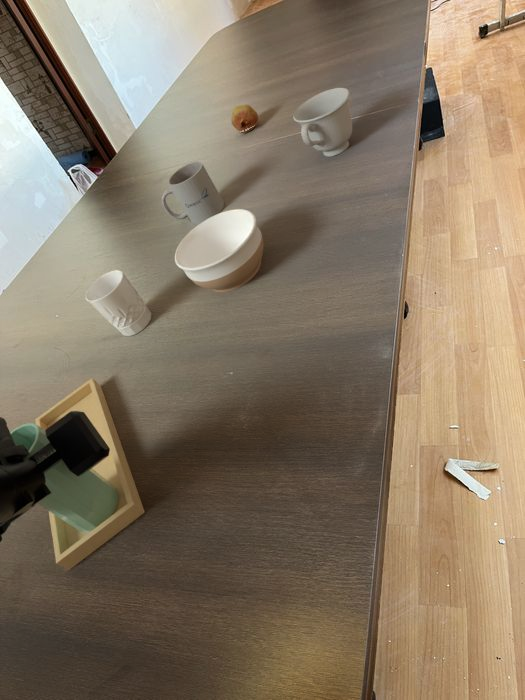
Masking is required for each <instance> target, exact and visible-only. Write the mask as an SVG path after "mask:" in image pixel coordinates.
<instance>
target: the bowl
mask: <svg viewBox="0 0 525 700" xmlns="http://www.w3.org/2000/svg"><path fill="white" fill-rule="evenodd" d="M264 243H265V242H264V238H263V235H262V232H261V230H260V228H259V226H258V224H257V218H256V215H255V214H254V213H253V212H251V211H250V210H248V209H243V208H235V209H230V210H225V211H221V212H219V213H218V214H217V215H214V216H212V217H210V218H208V219H207V220H205V221H203V222H202V223H200V224H197V225H196V226H195V227H193V228H192V229H191V230H190V231H188V233H187V234H186V235H185V236H184V237H183V238H182V240H181V241H180V242H179V244H178V246H177V248H176V250H175V253H174V262H175V265H176V266H177V267H178V268H179V269H181V270H183V271H184V273H185V276H187V278H188V279H190V280H191V281H192V282H193V284H195V285H197V286H199V287H201V288H203V289H208V290H212V291H214V292H216V293H227V292H231V291H234V290H236V289H239V288H240V287H243V286H244V285H246V284H247V283H248V282H249V281H251V280H252V279H253V278H254V277H255V276H256V274H258V271H260V268H261V265H262V257H263V254H264Z"/></svg>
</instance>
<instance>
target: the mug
mask: <svg viewBox="0 0 525 700" xmlns="http://www.w3.org/2000/svg"><path fill="white" fill-rule="evenodd" d="M167 185H168V187H169V188H167V189H166V190H165V191H163V193H162V195H161V204H162V206H163V209H164V210H165V211H166V213H167V214H168V215H169V216H170V217H171V218H173V219H176V220H184V219H186V218H187V217H188V218H189V221H190V222H191V223H192V224H194V225H199V224H200V223H202V222H203V221H205V220H207V219H208V218H210V217H212V216H214V215H217V214H219V213H221V212H222V210H223V208H224V206H225V201H224V200H223V198H222V196H221V195H220V192H219V191H218V189H217V187H216V185H215V183H214V182H213V180H212V178H211V176H210V174H209V173H208V171H207V169H206V168H205V166H204V164H203V162H202V161H199V160H196V161H191V162H189V163H187V164H185V165H183V166H181V167H179V168H178V169H177V170H175V172H173V173H172V174H171V175H170V177H169V178H168V179H167ZM172 194H173V195H174V196H175V198H176V199H177V202H179V204H180V206H181V208H182V209H183V212H182V213H180V214H178V213H175V212H174V211H172V210H171V209H170V207H169V205H168V203H167V201H166V198H167V196H168V195H172Z"/></svg>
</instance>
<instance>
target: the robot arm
mask: <svg viewBox="0 0 525 700" xmlns="http://www.w3.org/2000/svg"><path fill="white" fill-rule="evenodd" d="M7 424H8V422H7V421H6V419H5V418H4V417H1V416H0V543H1V542H2V541H3V536H2V535H4V534H5V533H6V532H7V530H8V528H9V527H10V526H11V524H12V523H13V522H14V521H16V520H18V519H19V518H20V517H22V516H23V515H24V514H26V513H27V512H28V511H30V510H32V508H34V507H36V505H39V504H38V503H39V502H40V501H42V500H43V499H44V498H46V497H47V496H48V495H50V494H51V491H50V490H49V489H48V487H47V486H46V484H45V483H46V479H45V475H44V473H45V472H47V471H48V470H49V469H51V468H52V467H53V466H55V465H56V464H58V463H59V462H60V461H62V460H63V462H64V463H65V465H66V466H67V467H68V469H69V470H70V471H71V472H72V473H74V474H75V475H76V476H81V475H82V474H84V473H86V472H87V471H89V470H90V469H91V468H93V467H94V466H96V465H97V464H98V463H100V462H101V461H102V460H104V459H105V458H106V457H108V456H109V451H110V448H109V447H108V445H107V444H106V442H105V441H104V440H103V438H102V437H101V435H100V434H99V433H98V431H97V430H96V428H95V427H94V426H93V424H92V423H91V421H90V420H89V418H88V417H87V416H86V414H85V413H84V412H81V411H70V412H69V413H68V414H66V415H65V416H64V417H62V418H61V419H59V420H58V421H57V422H55V423H54V424H53V425H51V426H50V427H49V428H47V429H46V430H45V432H46V437H47V439H48V440H49V442H50V443H48V444H47V445H46V446H44V447H43V448H42V449H40V450H39V451H38V452H36V453H35V454H33V455H32V456H31V457H29V458H27V457H26V456H28V455H29V454H30V453H29V452H28V450H27V449H26V447H25V446H24V444H22V445H15V443H14V440H13V438H12V436H11V434H10V432H11V431H10V430H9V429H10V428H9V427H8V425H7ZM54 450H56V451H55V452H54ZM51 452H54V453H52V454H51ZM47 453H48V454H51V455H50V456H48V454H47ZM45 456H46V457H47V456H48V457H47V458H46V459H44V458H45ZM42 459H44V460H43V461H42ZM38 460H39V461H42V462H40V463H39V461H38ZM37 463H39V464H37Z"/></svg>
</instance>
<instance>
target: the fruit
mask: <svg viewBox="0 0 525 700" xmlns="http://www.w3.org/2000/svg"><path fill="white" fill-rule="evenodd" d="M230 121H231V125H232V126H233V127H234V128H235V129H236V131H237V132H238V131H242V130H244V132H241V133H240V134H248V133H249V132H251V131H252V130H253V129H254V128H255V127H256V125H257V123H258V121H259V114H258V112H257V111H256V110H255V109H254V108H253V107H252V106H251V105H250V104H243V105H238V106H236V107H234V108H233V109H232V114H231V119H230ZM255 124H256V125H255ZM254 125H255V126H254ZM252 126H254V127H252ZM250 127H252V128H250ZM247 128H250V129H249V130H247V131H245V129H247Z"/></svg>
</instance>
